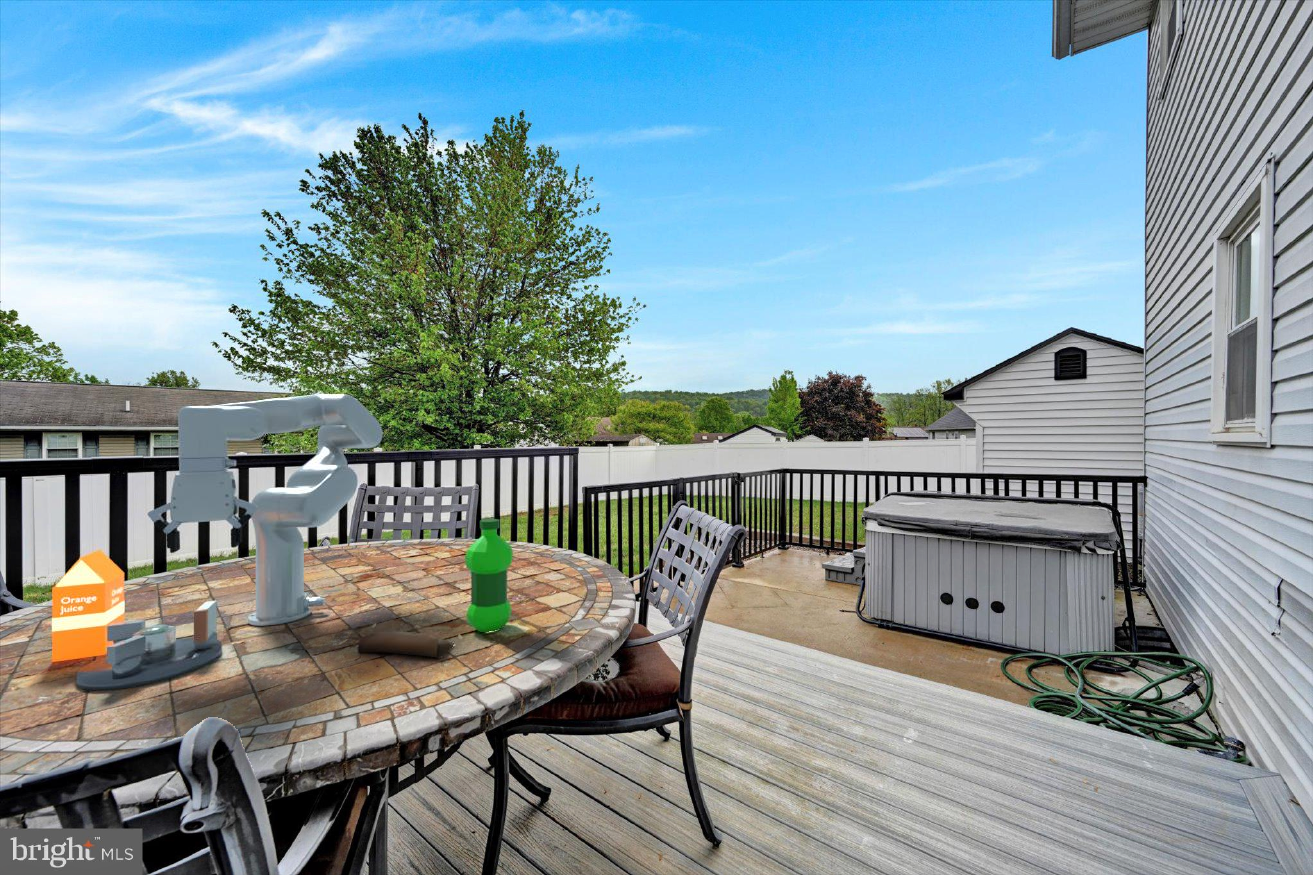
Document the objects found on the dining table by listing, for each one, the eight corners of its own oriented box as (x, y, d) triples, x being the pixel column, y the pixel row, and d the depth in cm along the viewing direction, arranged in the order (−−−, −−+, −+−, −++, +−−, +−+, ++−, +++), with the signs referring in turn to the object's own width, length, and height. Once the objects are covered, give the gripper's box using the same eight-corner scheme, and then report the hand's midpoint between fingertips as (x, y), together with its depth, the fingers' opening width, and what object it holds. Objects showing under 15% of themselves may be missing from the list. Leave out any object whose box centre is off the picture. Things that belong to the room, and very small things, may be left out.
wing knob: (200, 640, 108) (200, 602, 108) (222, 637, 109) (222, 599, 109) (188, 653, 102) (188, 612, 102) (211, 650, 103) (211, 609, 103)
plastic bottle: (498, 618, 127) (498, 515, 127) (520, 629, 119) (520, 520, 119) (458, 628, 120) (458, 520, 120) (479, 641, 112) (479, 525, 112)
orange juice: (51, 662, 101) (51, 559, 101) (75, 646, 109) (75, 551, 109) (106, 654, 105) (106, 555, 105) (125, 639, 113) (125, 547, 113)
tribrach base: (234, 638, 114) (234, 604, 114) (202, 676, 96) (202, 635, 95) (110, 654, 105) (110, 617, 105) (49, 700, 87) (49, 655, 87)
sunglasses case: (460, 643, 111) (451, 622, 108) (444, 672, 105) (434, 651, 102) (384, 637, 114) (373, 616, 111) (364, 666, 108) (352, 645, 105)
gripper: (259, 463, 114) (261, 540, 115) (155, 466, 106) (157, 549, 107) (252, 466, 108) (253, 548, 108) (139, 469, 100) (142, 557, 100)
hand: (205, 548), depth 107 cm, fingers open, 9 cm apart
